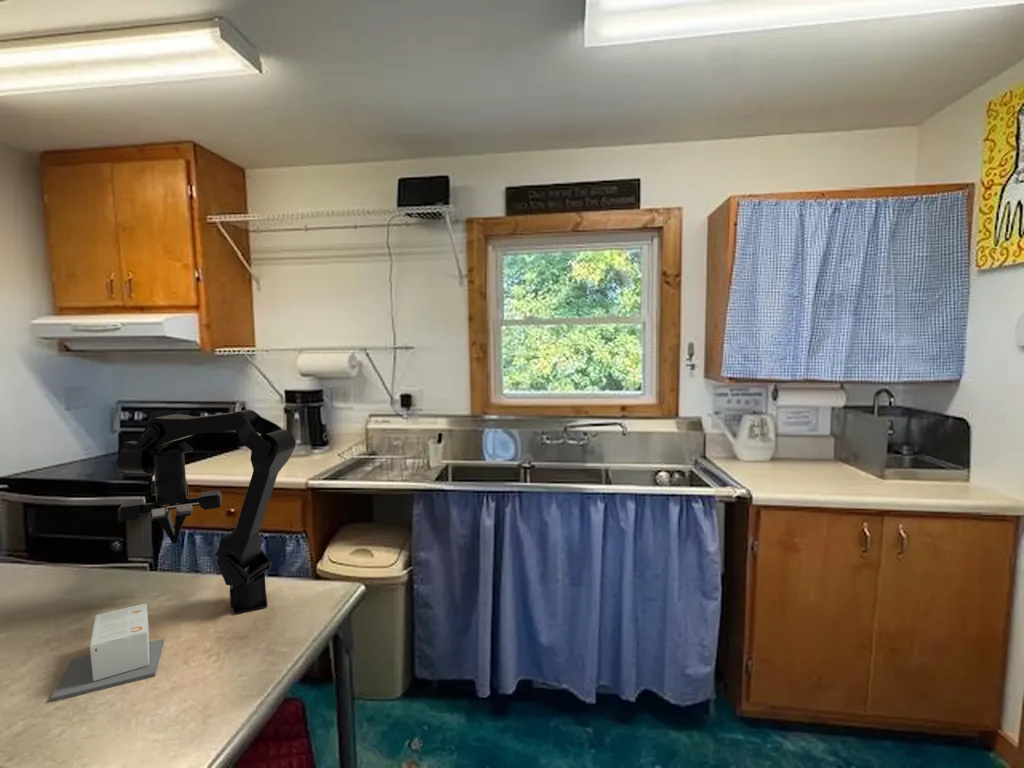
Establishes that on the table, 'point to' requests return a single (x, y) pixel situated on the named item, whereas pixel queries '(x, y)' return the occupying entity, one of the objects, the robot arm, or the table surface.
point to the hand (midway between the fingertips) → (175, 543)
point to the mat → (81, 678)
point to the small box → (119, 642)
